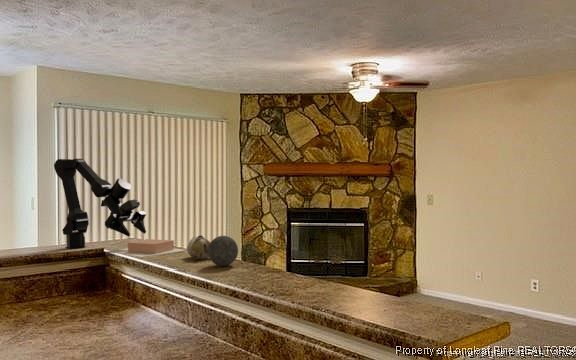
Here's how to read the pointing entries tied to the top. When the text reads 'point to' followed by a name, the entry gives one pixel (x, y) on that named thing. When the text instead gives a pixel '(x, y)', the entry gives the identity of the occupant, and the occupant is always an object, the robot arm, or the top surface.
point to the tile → (151, 246)
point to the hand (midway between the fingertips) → (137, 234)
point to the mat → (125, 251)
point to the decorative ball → (223, 250)
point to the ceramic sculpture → (198, 247)
